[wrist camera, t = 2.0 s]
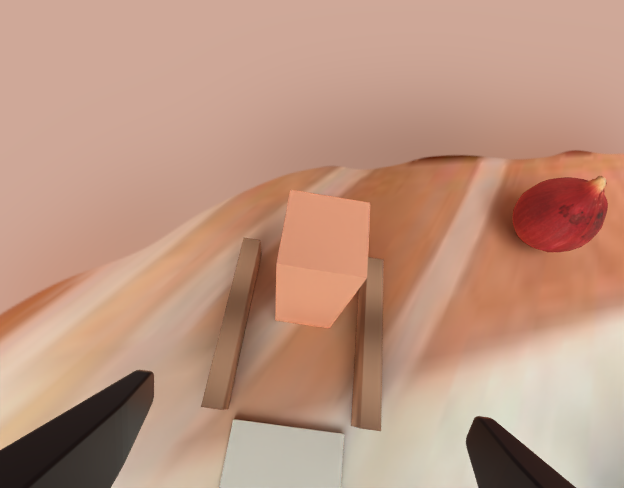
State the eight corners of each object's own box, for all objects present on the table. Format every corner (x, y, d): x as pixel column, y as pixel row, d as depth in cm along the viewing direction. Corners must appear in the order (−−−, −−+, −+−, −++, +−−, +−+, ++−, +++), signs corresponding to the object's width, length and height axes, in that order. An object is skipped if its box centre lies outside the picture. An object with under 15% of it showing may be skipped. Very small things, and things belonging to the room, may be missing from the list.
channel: (369, 427, 20) (380, 430, 18) (209, 406, 20) (201, 406, 18) (373, 271, 25) (383, 259, 23) (246, 252, 25) (243, 237, 23)
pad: (335, 559, 17) (336, 563, 17) (208, 544, 17) (206, 547, 17) (343, 433, 20) (344, 434, 20) (233, 419, 20) (233, 419, 19)
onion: (566, 261, 28) (666, 213, 21) (511, 270, 27) (596, 223, 20) (534, 206, 30) (613, 147, 23) (482, 213, 29) (548, 153, 22)
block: (329, 328, 23) (367, 277, 14) (275, 320, 23) (276, 263, 14) (334, 277, 25) (370, 202, 16) (284, 270, 25) (290, 189, 15)
